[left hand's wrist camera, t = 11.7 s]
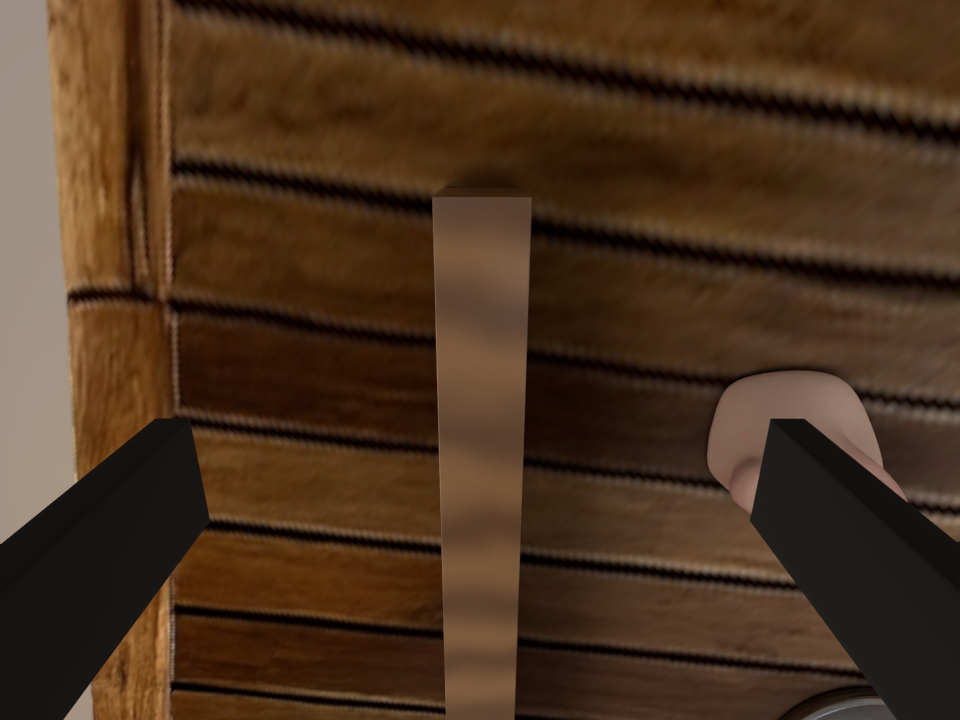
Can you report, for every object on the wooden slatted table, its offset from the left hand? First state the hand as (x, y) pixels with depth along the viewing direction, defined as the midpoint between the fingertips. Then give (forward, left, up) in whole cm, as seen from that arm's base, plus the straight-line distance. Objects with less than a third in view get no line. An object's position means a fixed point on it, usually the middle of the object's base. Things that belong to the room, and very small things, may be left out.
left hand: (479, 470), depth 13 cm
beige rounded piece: (-23, +10, -23) cm, 34 cm away
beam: (-2, +19, -23) cm, 30 cm away
